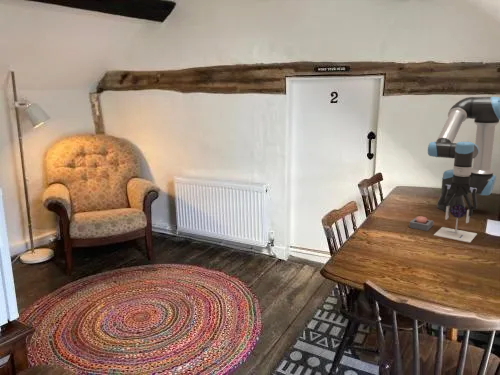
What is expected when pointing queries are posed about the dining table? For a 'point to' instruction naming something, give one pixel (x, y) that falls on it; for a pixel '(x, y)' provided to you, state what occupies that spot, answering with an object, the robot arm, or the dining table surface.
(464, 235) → the paper pad
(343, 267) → the dining table surface
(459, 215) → the lollipop
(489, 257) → the dining table surface
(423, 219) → the button
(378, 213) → the dining table surface
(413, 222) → the button housing
